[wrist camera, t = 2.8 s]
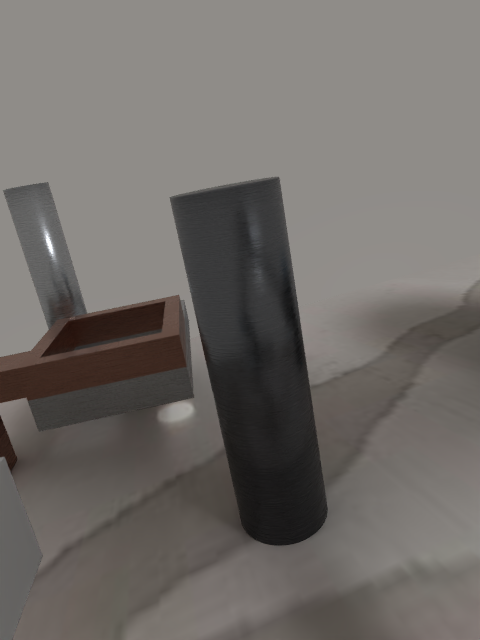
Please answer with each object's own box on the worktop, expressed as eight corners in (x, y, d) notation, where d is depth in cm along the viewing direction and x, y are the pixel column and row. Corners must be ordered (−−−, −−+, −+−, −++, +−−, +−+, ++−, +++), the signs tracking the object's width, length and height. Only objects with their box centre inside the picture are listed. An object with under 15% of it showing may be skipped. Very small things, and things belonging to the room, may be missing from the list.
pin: (313, 474, 25) (268, 176, 20) (339, 532, 21) (291, 177, 16) (235, 492, 25) (170, 195, 20) (247, 554, 21) (168, 200, 16)
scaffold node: (198, 366, 42) (153, 163, 37) (208, 462, 28) (137, 155, 23) (30, 402, 41) (-44, 200, 36) (-48, 520, 27) (-191, 215, 22)
